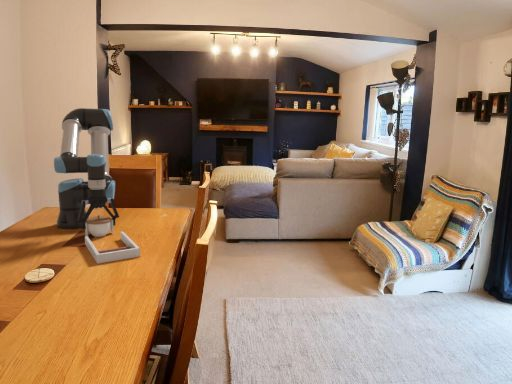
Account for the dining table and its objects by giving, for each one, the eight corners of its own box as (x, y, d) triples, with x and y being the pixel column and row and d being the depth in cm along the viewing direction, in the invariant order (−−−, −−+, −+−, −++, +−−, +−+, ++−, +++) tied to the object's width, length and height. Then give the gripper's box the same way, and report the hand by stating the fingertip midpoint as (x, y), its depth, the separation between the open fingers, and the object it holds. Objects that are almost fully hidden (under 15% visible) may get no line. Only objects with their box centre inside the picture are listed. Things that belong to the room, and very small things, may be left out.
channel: (85, 244, 171) (84, 236, 171) (123, 238, 180) (123, 231, 180) (97, 263, 150) (96, 255, 149) (140, 256, 159) (139, 248, 158)
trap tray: (96, 254, 159) (95, 251, 159) (129, 249, 166) (129, 246, 166) (100, 261, 152) (100, 257, 152) (134, 255, 160) (134, 251, 159)
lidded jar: (103, 239, 179) (102, 219, 177) (82, 237, 181) (81, 217, 179) (116, 232, 189) (115, 213, 187) (96, 230, 191) (95, 212, 189)
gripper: (70, 191, 171) (74, 239, 176) (124, 187, 184) (126, 232, 188) (68, 188, 178) (71, 235, 182) (120, 185, 190) (122, 228, 194)
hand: (99, 234), depth 185 cm, fingers closed on lidded jar, 11 cm apart
